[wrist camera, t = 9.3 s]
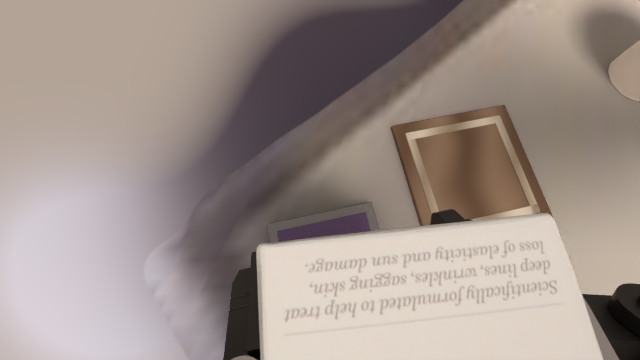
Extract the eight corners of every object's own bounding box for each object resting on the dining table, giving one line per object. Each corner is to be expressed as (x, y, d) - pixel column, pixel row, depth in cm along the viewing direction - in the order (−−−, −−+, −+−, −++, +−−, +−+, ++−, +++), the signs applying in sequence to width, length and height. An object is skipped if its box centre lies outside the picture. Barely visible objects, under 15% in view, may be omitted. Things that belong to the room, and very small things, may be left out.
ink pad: (368, 204, 27) (371, 201, 26) (397, 311, 25) (402, 314, 23) (268, 225, 26) (266, 224, 25) (288, 339, 24) (287, 344, 22)
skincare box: (389, 234, 17) (569, 190, 5) (402, 312, 16) (667, 474, 4) (290, 244, 17) (250, 220, 5) (296, 325, 15) (261, 544, 4)
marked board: (501, 107, 31) (505, 104, 30) (550, 221, 27) (555, 220, 27) (390, 128, 29) (392, 125, 29) (428, 250, 26) (431, 250, 26)
